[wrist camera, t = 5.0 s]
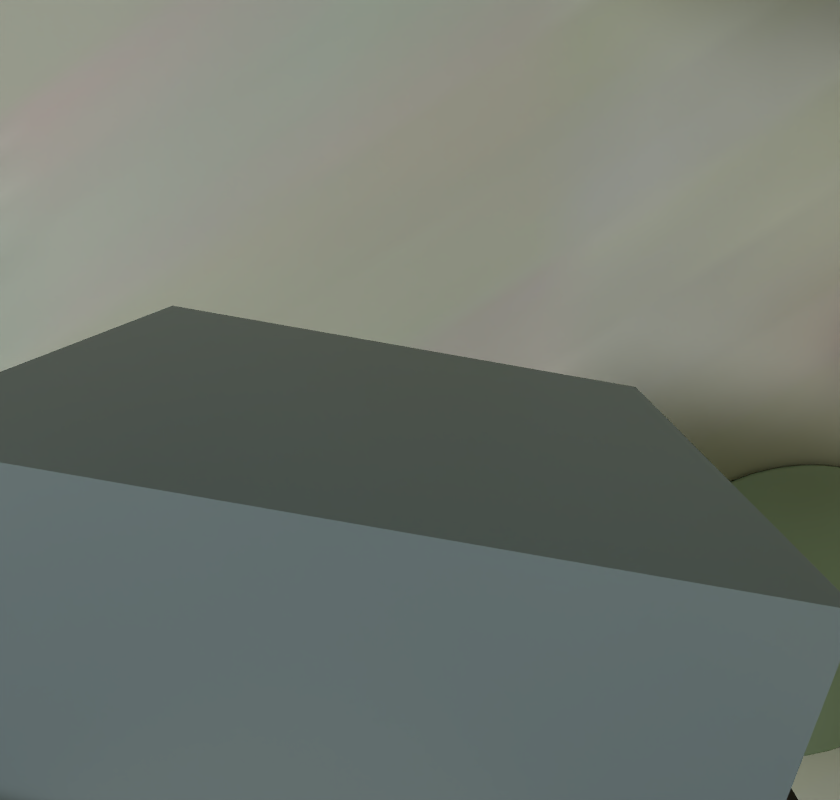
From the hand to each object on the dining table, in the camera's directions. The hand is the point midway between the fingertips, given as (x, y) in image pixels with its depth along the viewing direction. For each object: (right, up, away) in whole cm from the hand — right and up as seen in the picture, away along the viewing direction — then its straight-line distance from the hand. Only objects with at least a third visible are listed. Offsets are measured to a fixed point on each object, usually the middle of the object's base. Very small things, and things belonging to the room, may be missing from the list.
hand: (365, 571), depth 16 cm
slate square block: (0, 0, +1) cm, 1 cm away
